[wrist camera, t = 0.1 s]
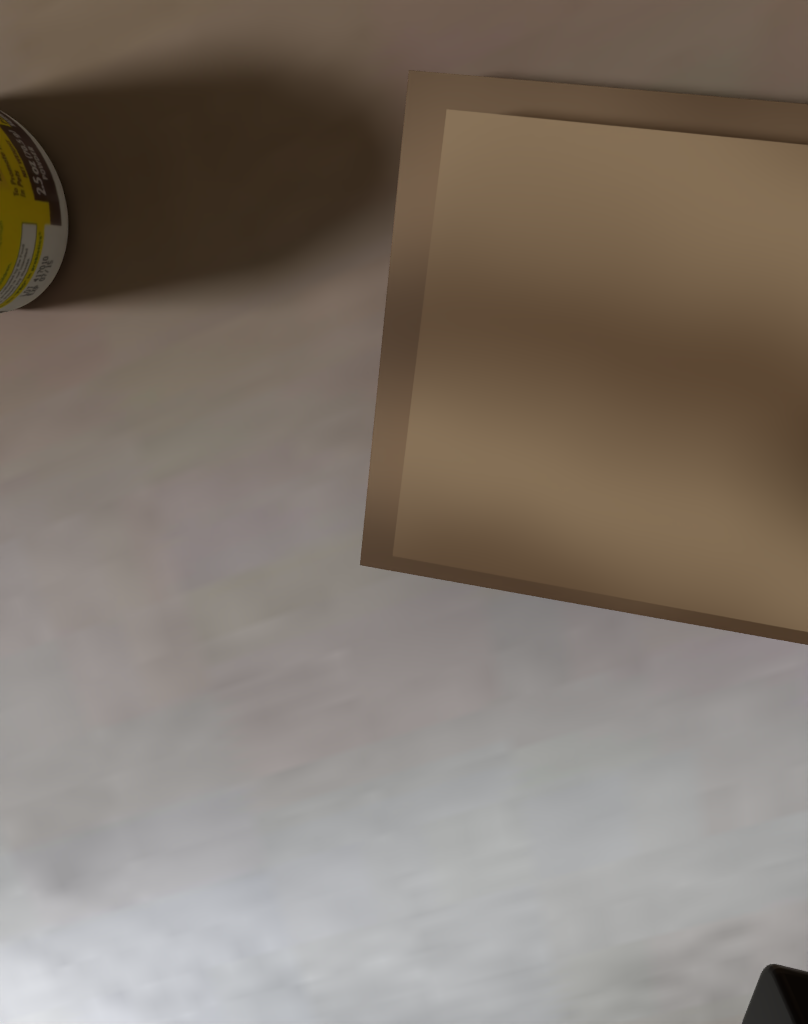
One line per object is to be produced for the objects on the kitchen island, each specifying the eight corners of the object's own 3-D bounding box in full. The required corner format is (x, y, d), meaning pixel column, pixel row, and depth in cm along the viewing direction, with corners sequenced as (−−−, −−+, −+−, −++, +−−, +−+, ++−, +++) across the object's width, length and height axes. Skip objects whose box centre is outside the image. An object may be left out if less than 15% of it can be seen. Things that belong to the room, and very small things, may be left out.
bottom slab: (789, 604, 21) (819, 646, 19) (379, 534, 23) (359, 565, 21) (937, 139, 17) (997, 120, 15) (426, 93, 19) (408, 70, 17)
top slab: (793, 605, 19) (812, 632, 17) (403, 535, 20) (392, 556, 19) (935, 170, 15) (974, 161, 14) (455, 121, 17) (446, 109, 15)
